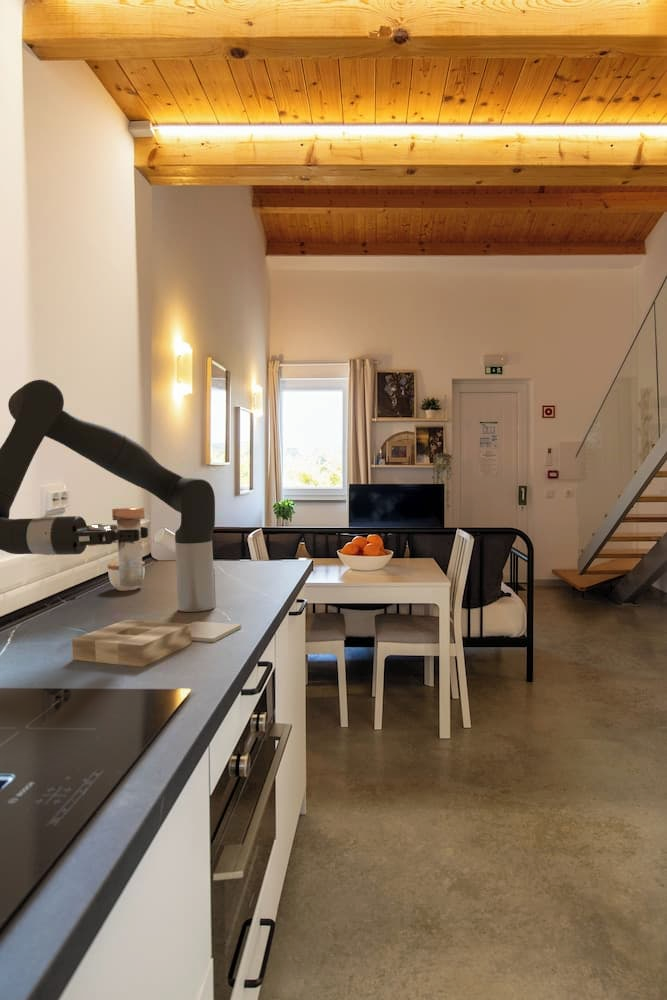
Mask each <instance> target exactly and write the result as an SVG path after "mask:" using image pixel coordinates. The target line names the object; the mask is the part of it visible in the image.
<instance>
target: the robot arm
mask: <svg viewBox="0 0 667 1000" xmlns="http://www.w3.org/2000/svg"><path fill="white" fill-rule="evenodd" d="M64 400H65V399H64V394H63V393H62V390H61V389H60V388H59V387H58V386H57V385H56V384H55V383H54V382H52V381H49V380H46V379H34V380H32V381H29V382H27V383H25V384H24V385H23V386H21V387H20V388H19V389H18V390H16V391H15V392H14V393H12V394H11V396H10V397H9V399H8V403H7V404H8V405H7V407H8V411H9V413H10V415H11V417H12V418H13V419H14V423H13V425H12V428H11V430H10V432H9V433H8V435H7V437H6V439H5V441H4V442H3V443H2V445H1V447H0V551H2V552H6V553H8V554H11V555H12V554H13V555H45V556H56V555H57V556H59V555H60V556H61V555H62V556H63V555H69V556H70V555H80V554H83V553H84V552H85V550H86V548H87V546H88V547H95V546H107V545H111V544H113V543H114V544H118V542H119V540H120V542H123V541H138V540H139V539H140V533H139V530H137V529H134V530H118V529H117V524H102V523H95V524H90V525H87V522H86V520H85V518H83V517H82V516H79V515H73V516H72V515H71V516H63V515H62V516H44V517H43V516H42V517H36V518H35V517H34V518H32V517H31V518H14V519H13V518H10V514H11V513H10V511H11V507H12V505H13V503H14V501H15V499H16V497H17V494H18V492H19V490H20V488H21V485H22V483H23V481H24V478H25V476H26V474H27V472H28V470H29V468H30V465H31V463H32V461H33V459H34V457H35V455H36V453H37V451H38V449H39V448H40V445H41V443H42V442H43V440H44V438H45V437H46V438H49V439H51V440H53V441H55V442H57V443H59V444H61V445H63V446H65V447H66V448H68V449H70V450H72V451H74V452H75V453H77V454H78V455H80V456H82V457H84V458H85V459H86V460H89V461H91V462H92V463H94V464H96V465H97V466H99V467H101V468H102V469H104V470H106V471H107V472H109V473H111V474H113V475H115V476H116V477H119V478H121V479H123V480H124V481H126V482H128V483H130V484H132V485H133V486H134V485H135V486H136V487H139V488H141V489H143V490H145V491H146V492H149V493H151V495H153V496H155V497H156V498H158V499H159V500H160V501H162V502H164V504H166V505H167V506H168V507H170V508H171V509H173V510H175V511H176V512H178V513H179V514H180V525H179V527H178V529H176V531H175V533H174V544H175V546H174V547H175V548H174V549H175V568H176V570H175V571H176V592H177V593H176V594H177V596H176V597H177V610H178V611H180V612H185V613H194V612H195V613H196V612H197V613H199V612H204V611H209V610H212V609H214V608H215V607H216V605H217V600H216V573H215V571H216V570H215V568H214V555H213V554H214V552H213V533H214V531H215V528H216V527H215V526H216V499H215V492H214V488H213V486H212V485H211V483H210V482H208V481H207V480H206V479H203V478H199V477H197V478H196V477H192V478H191V477H184V476H182V475H180V474H177V473H176V472H174V471H172V470H171V469H170V470H169V469H168V468H166V467H164V466H163V465H161V463H159V462H158V461H157V460H156V459H155V458H154V457H153V455H151V453H150V452H149V451H148V450H147V449H146V448H144V446H142V445H141V444H140V443H138V442H137V441H135V440H133V439H132V438H130V437H129V436H126V435H125V434H123V433H121V432H119V431H118V430H116V429H113V428H110V427H107V426H104V425H101V424H98V423H94V422H90V421H86V420H83V419H81V418H78V417H76V416H74V415H72V413H70V412H68V411H66V410H64V404H65V401H64ZM148 537H149V529H148V527H147V526H141V539H146V538H148Z"/></svg>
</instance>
